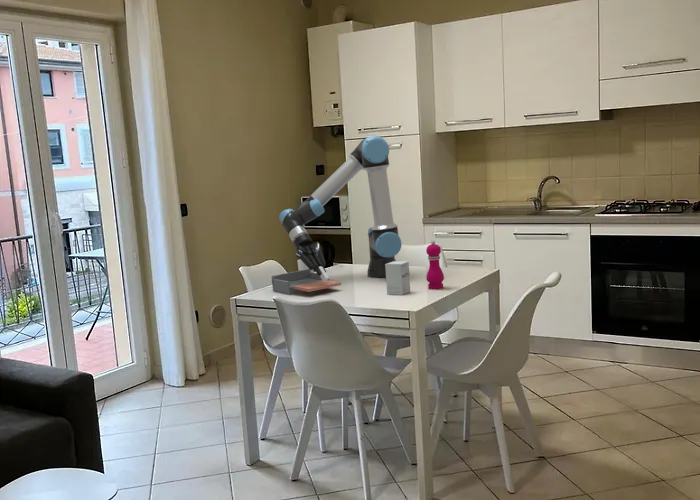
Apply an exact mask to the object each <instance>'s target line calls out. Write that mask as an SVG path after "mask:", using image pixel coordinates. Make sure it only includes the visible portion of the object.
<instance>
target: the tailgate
mask: <svg viewBox="0 0 700 500" xmlns="http://www.w3.org/2000/svg"><path fill="white" fill-rule="evenodd" d="M338 286H342V281H336V280H330V279H329V280H327V282H323V280H320V281H315V282H310V283H305V284H300V285H296V286H293V289H296V290H301V291H306V292H309V293H310V292H314V291H319V290H324V289H329V288H333V287H338Z"/></svg>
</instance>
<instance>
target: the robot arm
mask: <svg viewBox="0 0 700 500" xmlns="http://www.w3.org/2000/svg"><path fill="white" fill-rule="evenodd" d="M389 154H390V147H389V143H388V142H387V140H385V139H384V138H383V137H381V136H378V135H372V136H368V137H365V138H364V139H362V140H361V141H360V142H359V143H358V145H357V146H356V148H354V149H353V150H352V152H351V153H350V154H349V158H348V159H346V161H344V162H343V164H342V165H340V167H338V168H337V169H336V170H335V171H334V172H333V173H332V174H331V175H330V176H329V177H328V178H327V179H326V180H325V181H324V182H323V183H322V184H320V186H319V187H317V189H315V191H314V192H313V193H312V194H311V195H310V196H309V197H307V199H305V200H304V201H302V202H301V203H300V205H299V208H297V209H295V210H293V208H287V209H284V210H282V211H281V212H280V214H279V216H278V218H279V221H280V223H281V225H282V227H283V228H284V230H285V233H287V235H288V236H289V238H290V239H291V242H292V243H293V244H294V246H295V248H296V249H297V251H296V253H295V257H297V258H298V259H301V260H302V262H303V263H304V264H305V265H306V266H307V267H308V268H309V269H310V270H312V269H313V271H314V273H317V274H318V276H320V277H321V279H322V280H323V282H327V280H328V279H330V277H329V276H328V273H327V271H326V269H325V266H326V264H327V263H326V260H325V257H324V253H323V251H322V250H323V248H322V247H321V246H320V247H317V245H316V244H315V245H314V243H313V239H312V238H311V236H310V235H309V233H308V231H307V230H306V228H305V227H304V226H305V225H306V224H308V223H309V222H311V221H313V220H315V219H317V218H319V217H320V216H321V215H322V214H324V213H325V208H324V206H325V205H326V204H327V203H328V202H329V201H330V200H331V199H332V198H333V197H334V196H336V195H337V193H338V192H340V190H342V189H343V187H344V186H346V185H347V184H348V183H349V182H350V181H351V179H353V178H355V176H356V175H358V173H359V172H360V171H362V170H363V171H364V170H365V172H366V173H367V178H368V179H367V180H368V186H369V195H370V200H371V211H372V215H373V217H372V218H373V223H374V225H373V226H372V227H369V228H368V229H367V236H368V247H369V262H368V263H369V264H368V267H367V272H366V273H367V276H368V278H369V277H370V278H386V268H385V264H387V263H390V262H393V261H397V260H396V258H395V256H397V255H398V254H399V252H400V251H401V248H402V244H403V243H402V240H401V238H400V235H399V228H398V225H397V224H396V223H395V222H394V217H393V209H392V202H391V195H390V194H391V193H390V188H389V180H388V179H389V178H388V172H387V171H388V170H387V169H388V167H389V166H390V161H389V160H390V159H389Z"/></svg>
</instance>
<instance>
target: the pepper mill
mask: <svg viewBox="0 0 700 500" xmlns="http://www.w3.org/2000/svg"><path fill="white" fill-rule="evenodd" d="M441 252H442V249H441V246H440V245H439V244H436V240H433V239H432V240H431V242H430V244H429V245H428V246H427V247H426V254H427V255H428V256H427V258H428V261H429V267H428V271H427V272H426V273H427V274H426V281H427V282H428V284H427V285H428V286H427V289H428V290H431V289H437V290H442V289H444V283H443V282H444V280H445V276H444V272H443V271H442V270H443V269H441V265H440V260H441Z"/></svg>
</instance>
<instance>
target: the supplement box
mask: <svg viewBox="0 0 700 500" xmlns="http://www.w3.org/2000/svg"><path fill="white" fill-rule="evenodd" d="M409 264H410V263H409V261H408V260H407V261H406V260H405V261H404V260H402V261H401V260H400V261H399V260H398V261H397V260H396V261H393V262H390V263H387V264H385V268H386V277H385V283H386V295H395V296H396V295H398V296H403V295H404V294H407V293H409V292H411V279H410V266H409Z"/></svg>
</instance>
